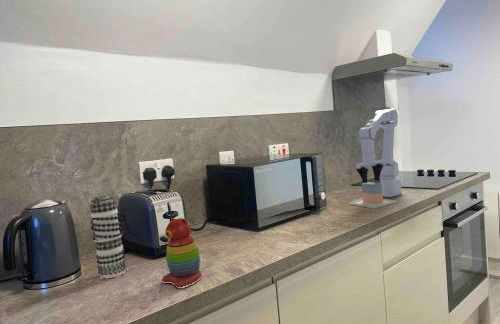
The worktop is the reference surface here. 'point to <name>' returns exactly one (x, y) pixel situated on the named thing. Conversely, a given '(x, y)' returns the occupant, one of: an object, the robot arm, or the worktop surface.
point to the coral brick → (373, 198)
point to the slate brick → (372, 188)
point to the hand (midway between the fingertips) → (371, 181)
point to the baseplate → (371, 205)
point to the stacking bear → (181, 254)
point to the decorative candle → (107, 235)
